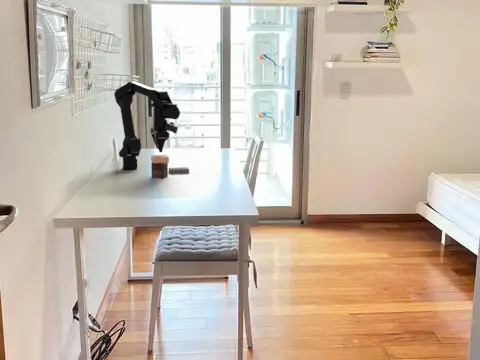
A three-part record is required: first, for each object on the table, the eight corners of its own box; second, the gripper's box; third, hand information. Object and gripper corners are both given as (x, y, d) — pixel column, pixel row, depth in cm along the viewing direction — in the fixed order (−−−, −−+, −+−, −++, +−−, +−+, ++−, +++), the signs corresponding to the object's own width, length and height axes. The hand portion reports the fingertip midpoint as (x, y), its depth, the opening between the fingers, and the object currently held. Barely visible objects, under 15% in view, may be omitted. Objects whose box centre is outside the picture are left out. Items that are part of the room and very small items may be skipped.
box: (163, 178, 247) (163, 163, 246) (151, 178, 248) (151, 162, 247) (168, 176, 253) (168, 161, 252) (155, 175, 254) (155, 160, 253)
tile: (153, 163, 245) (153, 157, 244) (151, 160, 251) (151, 155, 251) (168, 162, 247) (168, 157, 247) (165, 160, 254) (165, 154, 253)
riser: (170, 173, 259) (170, 169, 258) (168, 171, 263) (168, 167, 263) (189, 173, 262) (189, 169, 261) (186, 171, 266) (186, 167, 266)
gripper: (180, 119, 244) (179, 153, 247) (173, 115, 261) (172, 147, 265) (155, 119, 241) (155, 154, 244) (150, 115, 258) (150, 147, 262)
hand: (159, 150), depth 254 cm, fingers open, 9 cm apart
